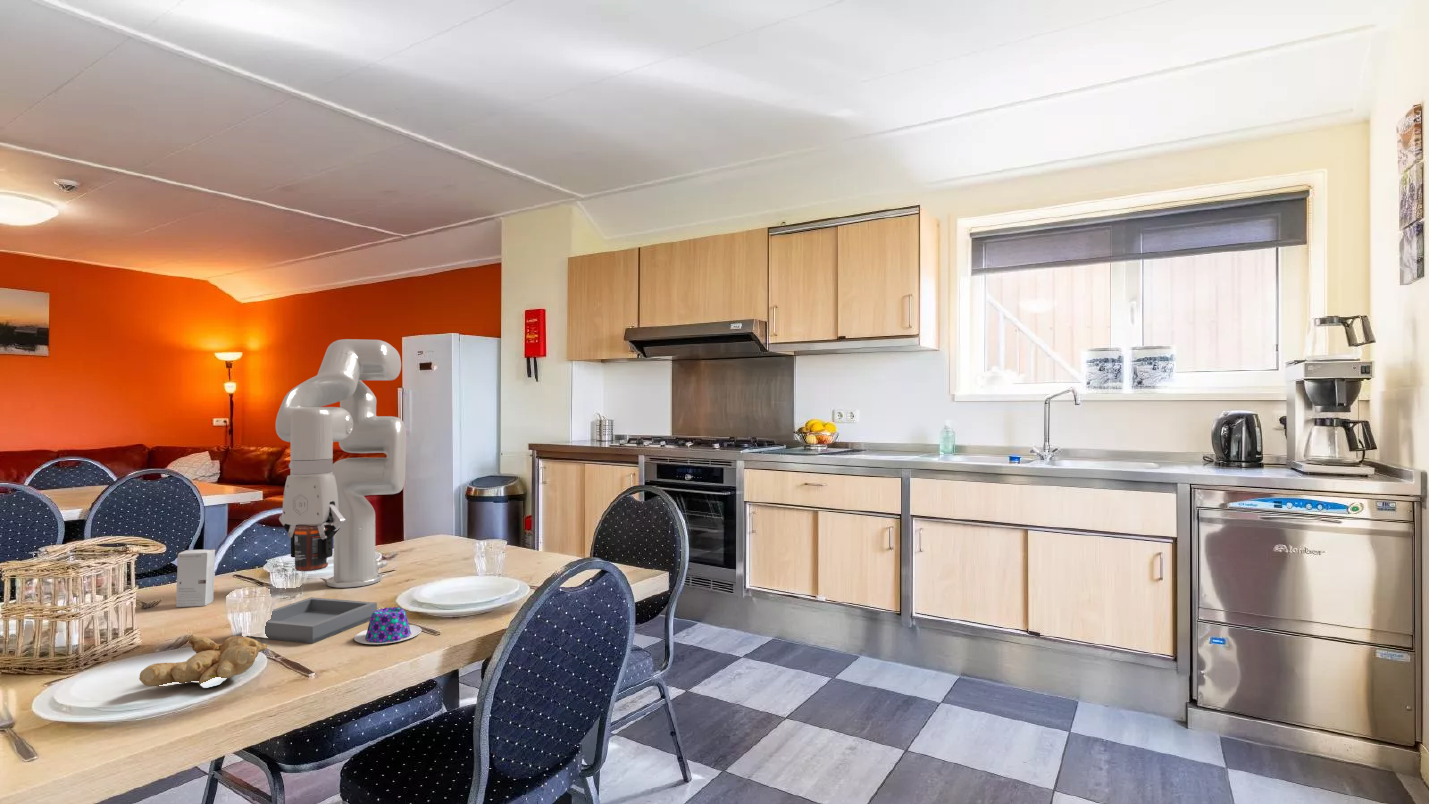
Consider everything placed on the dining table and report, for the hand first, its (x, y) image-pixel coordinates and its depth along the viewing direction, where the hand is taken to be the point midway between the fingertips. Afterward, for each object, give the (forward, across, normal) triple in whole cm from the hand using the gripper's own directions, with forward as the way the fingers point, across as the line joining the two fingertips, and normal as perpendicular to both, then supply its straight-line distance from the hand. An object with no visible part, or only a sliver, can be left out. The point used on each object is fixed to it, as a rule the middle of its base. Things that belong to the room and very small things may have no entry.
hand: (311, 556), depth 146 cm
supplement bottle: (+3, 0, 0) cm, 3 cm away
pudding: (+15, +19, -1) cm, 24 cm away
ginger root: (+15, +7, -26) cm, 31 cm away
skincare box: (+14, -39, +7) cm, 42 cm away
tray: (+14, 0, 0) cm, 14 cm away
